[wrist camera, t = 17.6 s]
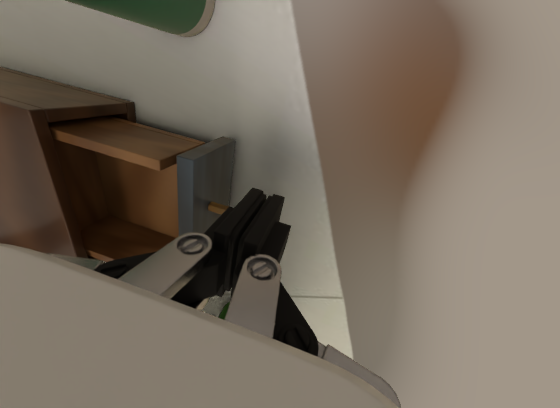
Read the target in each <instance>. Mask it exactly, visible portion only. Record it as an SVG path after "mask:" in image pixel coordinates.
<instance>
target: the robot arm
mask: <svg viewBox="0 0 560 408" xmlns="http://www.w3.org/2000/svg"><path fill="white" fill-rule="evenodd" d="M283 203H284V197H282V196H279V195H275V194H274V195H273V196H268V198H267V199H266V194H263V191H262V190H259V189H255V188H252V189H251V190H250V191H249V192H248V193H247V194H246V196H245V197H244V198H243V199H242V200H241V201H240V202H239V203H238V205H237V206H236V207H235V208H233V207H228V208H227V209H226V210H225V211H224V212H223V213H222V215H221V216H220V217H219V218H218V219H217V220H216V221H215V222H214V223H213V224H212V225H211V226H210V227H209V228H208V229H207V231H206V232H205V233H204V234H202V233H198V232H190V233H185V234H182V235H180V236H179V237H177V238H176V239H174V240H173V241H171V242H170V243H168V244H167V245H165V246H164V247H163V248H161V249H160V250H158V251H156V252H151V253H146V254H141V255H136V256H131V257H126V258H121V259H116V260H112V261H109V262H106V263H103V260H96V259H89V258H81V257H74V256H67V255H60V254H53V253H42V252H38V251H35V250H32V249H28V248H23V247H19V246H14V245H9V244H2V243H0V408H401V404H400V402H399V399H398V397H397V395H396V393H395V391H394V390H393V389H392V387H391V386H390V385H389V384H388V383H387V382H386V381H385V380H383V379H382V378H381V377H379V376H377V375H376V374H374V373H373V372H371V371H369V370H368V369H367V368H365V367H363V366H362V365H360V364H358V363H357V362H355V361H354V360H352V359H351V358H349V357H348V356H346V355H344V354H343V353H341V352H340V351H338V350H336V349H335V348H333V347H332V346H330V345H329V344H328V345H327V346H324V345H323V344H321V343H320V342H318V341H317V338H316V336H315V334H314V332H313V331H312V329H311V328H310V326H309V325H308V323H307V322H306V320H305V319H304V317H303V316H302V314H301V312H300V311H299V309H298V308H297V306H296V305H295V303H294V302H293V300H292V299H291V297H290V296H289V294H288V293H287V291H286V290H285V288H284V286H283V285H282V283H281V282H280V279H281V266H280V264H279V263H280V260H281V258H282V255H283V252H284V249H285V246H286V243H287V239H288V236H289V232H290V228H291V226H290V225H287V224H284V223H280V222H279V220H280V215H281V211H282V207H283ZM231 288H232V291H231V299H230V301H231V302H230V305H229V308H228V311H227V314H226V316H225V319H224V320H223V319H220V318H218V317H215V316H213V315H210V314H207V313H205V312H202V311H201V310H202V309H203V308H204V307H205V305H206V304H207V302H208V301H209V297H212V296H215V295H217V296H220V297H222V296H223V294H224V292H225V290H227V291H230V289H231Z"/></svg>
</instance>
